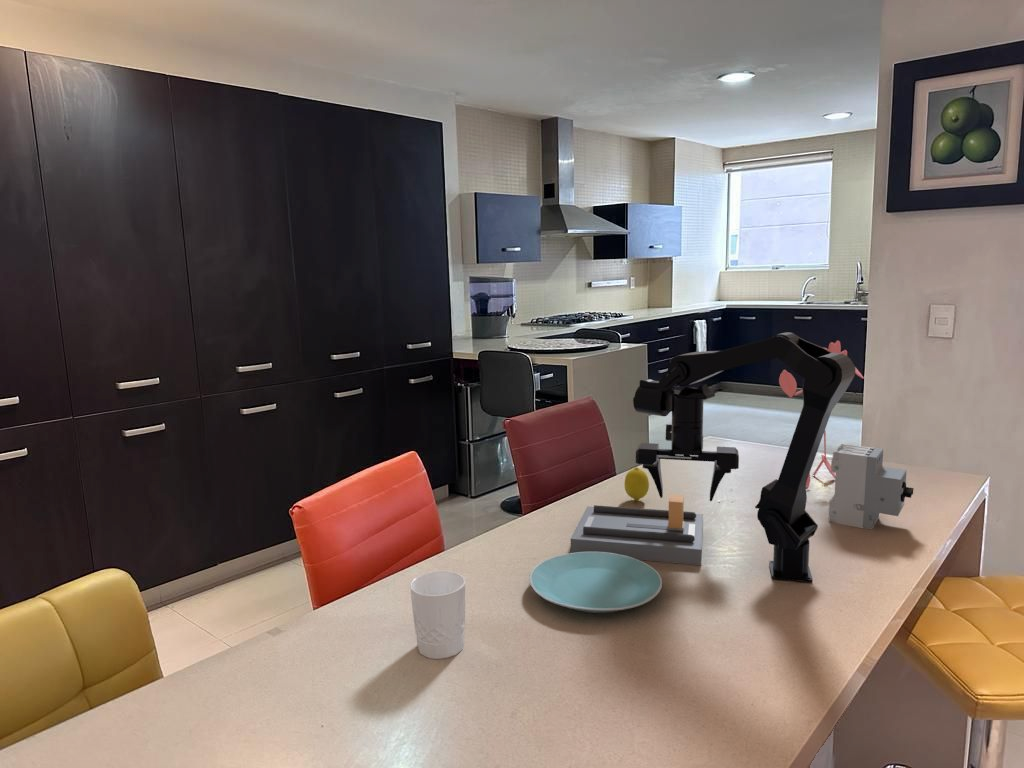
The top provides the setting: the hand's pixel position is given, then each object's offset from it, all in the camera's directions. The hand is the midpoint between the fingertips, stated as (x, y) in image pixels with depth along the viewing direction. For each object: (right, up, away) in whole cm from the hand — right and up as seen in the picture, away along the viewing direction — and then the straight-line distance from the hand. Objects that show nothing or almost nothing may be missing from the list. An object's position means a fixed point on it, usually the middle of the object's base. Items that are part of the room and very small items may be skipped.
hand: (685, 498), depth 132 cm
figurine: (+42, -3, +32) cm, 53 cm away
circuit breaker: (+40, -7, +9) cm, 42 cm away
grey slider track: (-8, -6, +3) cm, 11 cm away
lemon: (-5, -5, +27) cm, 27 cm away
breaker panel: (-8, -9, +4) cm, 13 cm away
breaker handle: (-2, -6, +1) cm, 6 cm away
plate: (-19, -13, -16) cm, 29 cm away
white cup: (-44, -17, -32) cm, 57 cm away
